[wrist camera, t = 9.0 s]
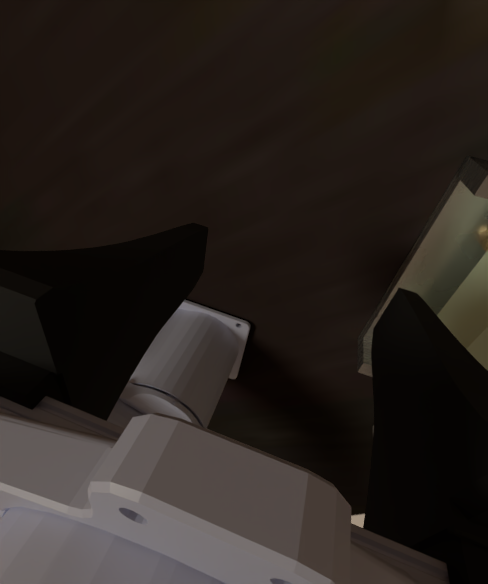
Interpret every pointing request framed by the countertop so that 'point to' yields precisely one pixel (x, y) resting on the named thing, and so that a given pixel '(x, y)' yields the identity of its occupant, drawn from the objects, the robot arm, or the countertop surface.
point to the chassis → (441, 249)
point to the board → (470, 312)
